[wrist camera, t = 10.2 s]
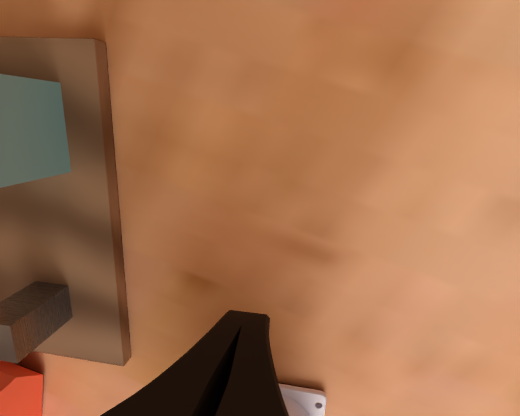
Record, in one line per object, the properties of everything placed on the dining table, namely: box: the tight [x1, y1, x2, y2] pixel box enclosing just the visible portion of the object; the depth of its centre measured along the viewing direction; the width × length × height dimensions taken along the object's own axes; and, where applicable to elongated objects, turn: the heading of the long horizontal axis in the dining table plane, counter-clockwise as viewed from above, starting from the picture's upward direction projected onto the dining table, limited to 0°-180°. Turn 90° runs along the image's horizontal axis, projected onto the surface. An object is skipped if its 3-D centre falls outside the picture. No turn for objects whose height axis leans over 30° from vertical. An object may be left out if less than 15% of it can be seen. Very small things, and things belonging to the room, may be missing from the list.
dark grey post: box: [0, 281, 73, 364], centre depth 20 cm, size 3×3×4 cm
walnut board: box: [0, 37, 131, 366], centre depth 21 cm, size 22×10×1 cm, turn 177°
